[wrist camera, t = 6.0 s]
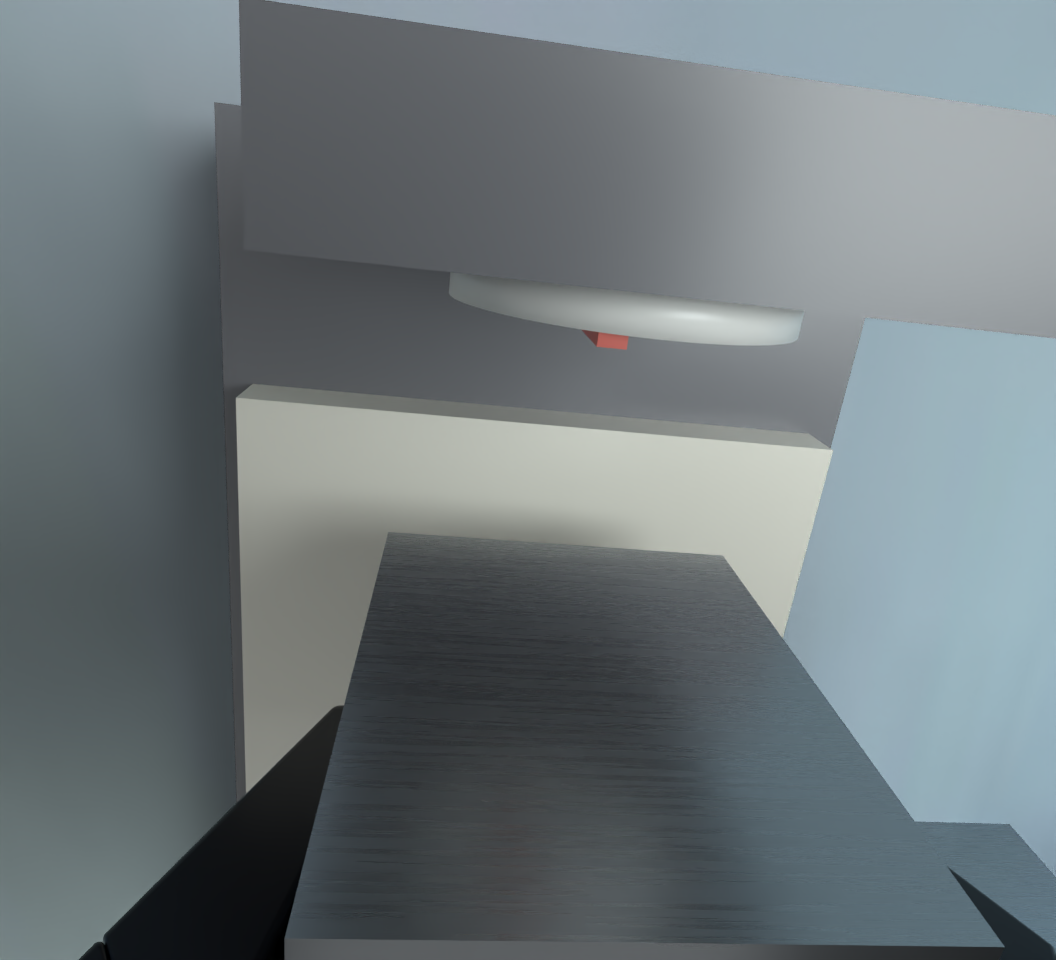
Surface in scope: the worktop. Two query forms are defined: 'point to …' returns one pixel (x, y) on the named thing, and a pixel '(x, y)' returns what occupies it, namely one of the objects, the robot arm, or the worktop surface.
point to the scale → (563, 308)
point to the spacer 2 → (999, 870)
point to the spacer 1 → (603, 778)
